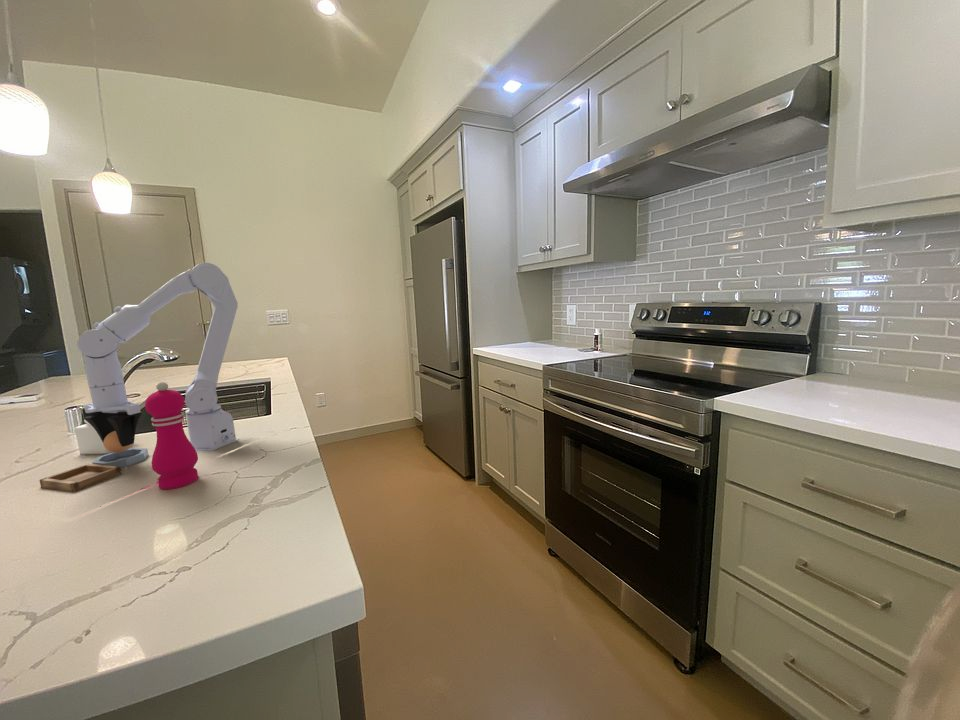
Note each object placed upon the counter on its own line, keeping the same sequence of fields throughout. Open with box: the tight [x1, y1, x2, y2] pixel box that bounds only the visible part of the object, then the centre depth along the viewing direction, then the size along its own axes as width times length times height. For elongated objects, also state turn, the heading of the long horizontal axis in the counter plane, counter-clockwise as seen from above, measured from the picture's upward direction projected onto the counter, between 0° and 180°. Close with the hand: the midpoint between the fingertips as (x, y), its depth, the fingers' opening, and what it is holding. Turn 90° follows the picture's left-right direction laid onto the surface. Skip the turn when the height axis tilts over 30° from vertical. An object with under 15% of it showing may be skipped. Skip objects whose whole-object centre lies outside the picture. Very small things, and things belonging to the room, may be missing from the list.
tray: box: [39, 463, 123, 493], centre depth 83 cm, size 10×8×2 cm
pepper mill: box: [144, 381, 199, 490], centre depth 79 cm, size 7×7×20 cm
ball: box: [104, 431, 133, 453], centre depth 91 cm, size 5×5×5 cm
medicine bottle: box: [74, 406, 111, 455], centre depth 101 cm, size 7×7×12 cm
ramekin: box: [91, 447, 149, 468], centre depth 92 cm, size 9×9×2 cm
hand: (119, 444), depth 92 cm, fingers closed on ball, 5 cm apart
